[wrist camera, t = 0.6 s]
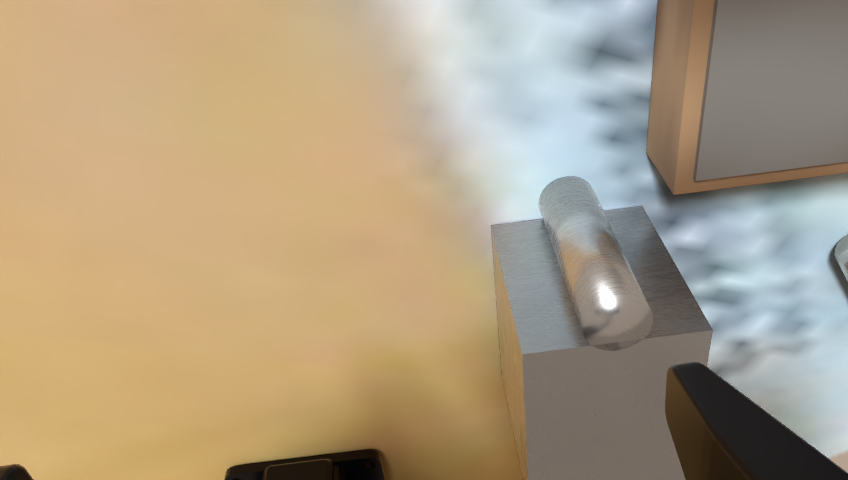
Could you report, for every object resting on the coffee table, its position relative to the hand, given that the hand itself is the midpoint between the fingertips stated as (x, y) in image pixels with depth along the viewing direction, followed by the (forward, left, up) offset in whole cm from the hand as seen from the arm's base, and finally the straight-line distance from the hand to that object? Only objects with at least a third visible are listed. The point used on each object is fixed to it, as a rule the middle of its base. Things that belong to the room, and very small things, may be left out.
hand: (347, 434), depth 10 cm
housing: (-9, -6, -13) cm, 17 cm away
